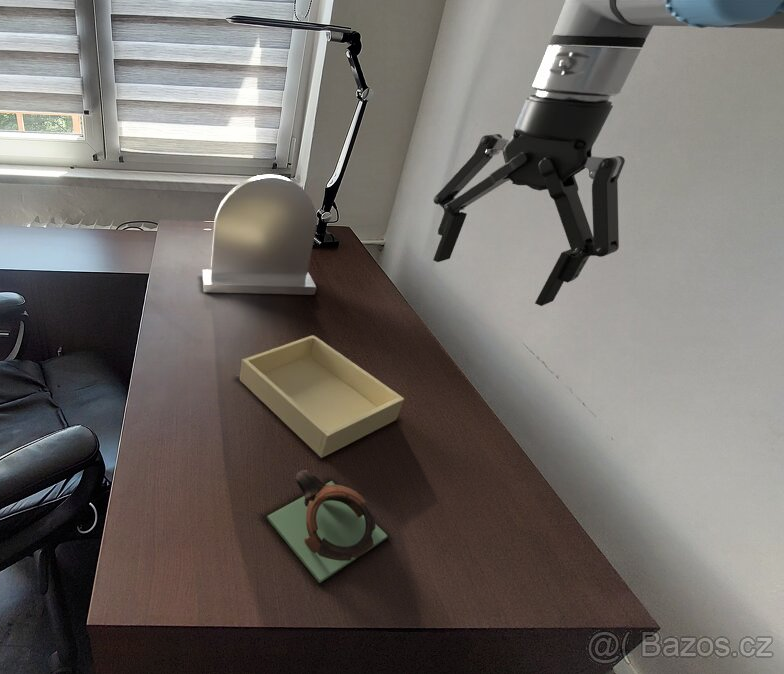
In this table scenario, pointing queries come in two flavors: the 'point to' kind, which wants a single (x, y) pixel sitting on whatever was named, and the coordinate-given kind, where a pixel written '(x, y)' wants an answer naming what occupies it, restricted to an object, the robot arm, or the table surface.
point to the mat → (322, 532)
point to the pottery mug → (321, 492)
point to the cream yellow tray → (320, 393)
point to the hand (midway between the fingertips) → (488, 279)
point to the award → (263, 239)
